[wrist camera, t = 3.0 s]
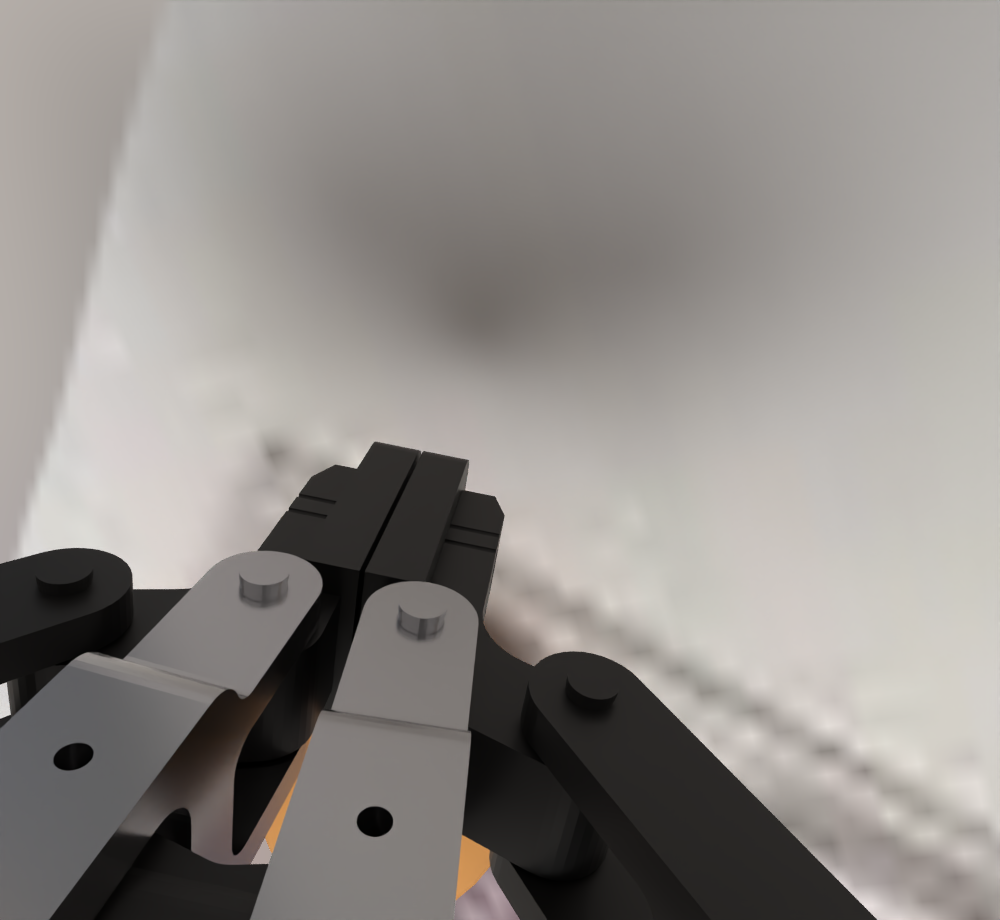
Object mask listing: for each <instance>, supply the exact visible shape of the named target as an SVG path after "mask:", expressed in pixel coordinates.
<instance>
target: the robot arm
mask: <svg viewBox="0 0 1000 920" xmlns="http://www.w3.org/2000/svg"><path fill="white" fill-rule="evenodd" d="M468 467H469V460H465V459H460V458H455V457H450V456H445V455H440V454H435V453H430V452H425V451H424V452H423V453H422V455H421V451H420V450H415V449H410V448H405V447H400V446H395V445H390V444H385V443H380V442H374V443H373V444H372V446H371V448H370V449H369V451H368V452H367V454H366V456H365V457H364V459H363V460H362V462H361V463H360V465H359V467H358V468H357V469H354V468H350V467H345V466H340V465H334V466H332V467H330V468H328V469H326V470H324V471H322V472H320V473H318V474H316V475H314V476H312V477H311V478H310V480H309V481H308V482H307V484H306V485H305V487H304V488H303V489H302V491H301V492H300V493H299V497H296V499H295V500H294V502H293V503H292V504H291V506H290V507H289V511H286V512H285V514H284V515H283V517H282V518H281V519H280V521H279V522H278V523H277V525H276V526H275V527H274V529H273V530H272V532H271V533H270V534H269V536H268V537H267V538H266V540H265V541H264V542H263V544H262V545H261V547H260V548H259V549H258V551H252V552H246V553H240V554H237V555H234V556H231V557H228V558H226V559H224V560H222V561H220V562H219V563H217V564H216V565H214V566H213V567H212V568H211V569H210V570H209V571H208V572H207V573H206V574H205V575H204V576H203V577H202V578H201V579H200V580H199V581H198V582H197V583H196V584H195V585H194V586H193V587H192V588H190V589H133V581H132V572H131V569H130V567H129V566H128V564H127V563H126V562H124V561H123V560H122V559H121V558H119V557H117V556H115V555H113V554H110V553H108V552H104V551H100V550H95V549H87V548H68V549H59V550H52V551H48V552H43V553H39V554H35V555H32V556H28V557H24V558H20V559H17V560H13V561H9V562H6V563H2V564H0V684H3V683H6V682H7V687H8V695H9V703H10V711H11V715H9V716H6V717H4V718H1V719H0V920H454V911H455V901H456V891H457V880H458V870H459V859H460V849H461V839H462V835H463V836H465V837H467V838H469V839H471V840H472V841H474V842H476V843H478V844H480V845H481V846H483V847H485V848H487V849H489V850H490V853H489V860H490V867H491V870H492V873H493V875H494V877H495V879H496V881H497V883H498V885H499V886H500V888H501V890H502V891H503V893H504V894H505V896H506V898H507V899H508V901H509V902H510V904H511V906H512V907H513V909H514V911H515V912H516V914H517V915H518V917H519V919H520V920H877V919H876V918H875V917H874V916H873V915H872V914H871V913H870V912H869V911H868V910H867V909H866V908H865V907H864V906H863V905H862V904H861V903H860V902H859V901H858V900H857V899H856V898H855V897H854V896H853V895H852V894H851V893H850V892H849V891H848V890H847V889H846V888H845V887H844V886H843V885H842V884H841V883H840V882H839V881H838V880H837V879H836V878H835V877H834V876H833V875H832V874H831V873H830V872H829V871H828V870H827V869H826V868H825V867H824V866H823V865H822V864H821V863H820V862H819V861H818V860H817V859H816V858H815V857H814V856H813V855H812V854H811V853H810V852H809V851H808V849H807V848H806V847H805V846H804V845H803V844H802V843H801V842H800V841H799V840H798V839H797V838H796V837H795V836H794V835H793V834H792V833H791V832H790V831H789V830H788V829H787V828H786V827H785V826H784V825H783V824H782V823H781V822H780V821H779V820H778V819H777V818H776V817H775V816H774V815H773V814H772V813H771V812H770V811H769V810H768V809H767V808H766V807H765V806H764V805H763V804H762V803H761V802H760V801H759V800H758V799H757V798H756V797H755V796H754V795H753V794H752V793H751V792H750V791H749V790H748V789H747V788H746V787H745V786H744V785H743V784H742V783H741V782H740V781H739V780H738V779H737V778H736V777H735V776H734V775H733V774H732V773H731V772H730V771H729V770H728V769H727V768H726V767H725V766H724V765H723V764H722V763H721V762H720V761H719V760H718V759H717V758H716V757H715V756H714V755H713V754H712V752H711V751H710V750H709V749H708V748H707V747H706V746H705V745H704V744H703V743H702V742H701V741H700V740H699V739H698V738H697V737H696V736H695V735H694V734H693V733H692V732H691V731H690V730H689V729H688V728H687V727H686V726H685V725H684V724H683V723H682V722H681V721H680V720H679V719H678V718H677V717H676V716H675V715H674V714H673V713H672V712H671V711H670V710H669V709H668V708H667V707H666V706H665V705H664V704H663V703H662V702H661V701H660V700H659V699H658V698H657V697H656V696H655V695H654V694H653V693H652V692H651V691H650V690H649V689H648V688H647V687H646V686H645V685H644V684H643V683H642V682H641V681H640V680H639V679H638V678H637V677H636V676H635V675H634V674H633V673H632V672H630V671H629V670H628V669H626V668H625V667H623V666H622V665H620V664H618V663H616V662H614V661H613V660H610V659H608V658H605V657H603V656H599V655H596V654H591V653H586V652H574V651H573V652H562V653H557V654H553V655H551V656H548V657H546V658H544V659H543V660H541V661H540V662H539V663H538V664H537V665H535V667H534V666H532V665H530V664H527V663H525V662H523V661H521V660H519V659H517V658H515V657H513V656H512V655H510V654H509V653H507V652H506V651H504V650H503V649H502V648H500V647H499V646H498V645H497V644H496V643H495V642H494V641H493V640H492V638H491V637H490V636H489V634H488V633H487V631H486V629H485V626H484V624H483V621H484V616H485V612H486V607H487V603H488V598H489V594H490V588H491V583H492V578H493V573H494V568H495V562H496V557H497V552H498V547H499V542H500V536H501V531H502V526H503V521H504V516H505V515H504V513H503V511H502V509H501V508H500V506H499V504H498V502H497V500H496V498H495V496H490V495H485V494H480V493H475V492H470V491H465V487H466V481H467V475H468ZM311 735H312V736H311ZM310 737H311V739H310ZM309 741H310V742H309ZM296 779H297V781H296ZM295 781H296V784H295V787H294V790H293V793H292V796H291V799H290V802H289V805H288V808H287V811H286V814H285V817H284V820H283V823H282V826H281V829H280V832H279V835H278V838H277V841H276V844H275V847H274V850H273V853H272V856H271V859H270V862H269V864H253V865H252V864H251V862H252V860H253V859H254V857H255V855H256V853H257V851H258V849H259V848H260V846H261V844H262V842H263V840H264V838H265V837H266V835H267V833H268V831H269V829H270V827H271V825H272V824H273V822H274V820H275V818H276V816H277V814H278V813H279V811H280V809H281V807H282V805H283V803H284V802H285V800H286V798H287V796H288V794H289V792H290V791H291V789H292V787H293V785H294V783H295Z"/></svg>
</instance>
